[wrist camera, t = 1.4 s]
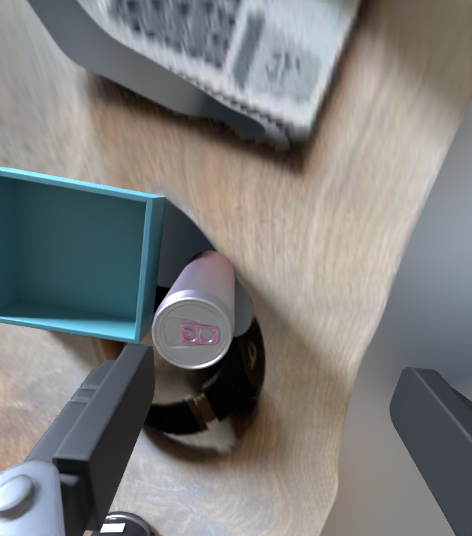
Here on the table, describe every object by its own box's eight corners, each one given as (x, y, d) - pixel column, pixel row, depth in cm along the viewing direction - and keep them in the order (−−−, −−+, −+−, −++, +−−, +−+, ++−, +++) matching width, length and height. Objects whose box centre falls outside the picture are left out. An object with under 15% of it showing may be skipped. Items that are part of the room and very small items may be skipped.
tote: (166, 196, 31) (153, 197, 26) (152, 323, 35) (139, 344, 30) (11, 168, 30) (-32, 163, 25) (16, 301, 34) (-19, 319, 30)
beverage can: (232, 297, 34) (230, 375, 20) (185, 293, 34) (148, 369, 20) (236, 251, 33) (238, 299, 18) (187, 247, 32) (148, 291, 18)
